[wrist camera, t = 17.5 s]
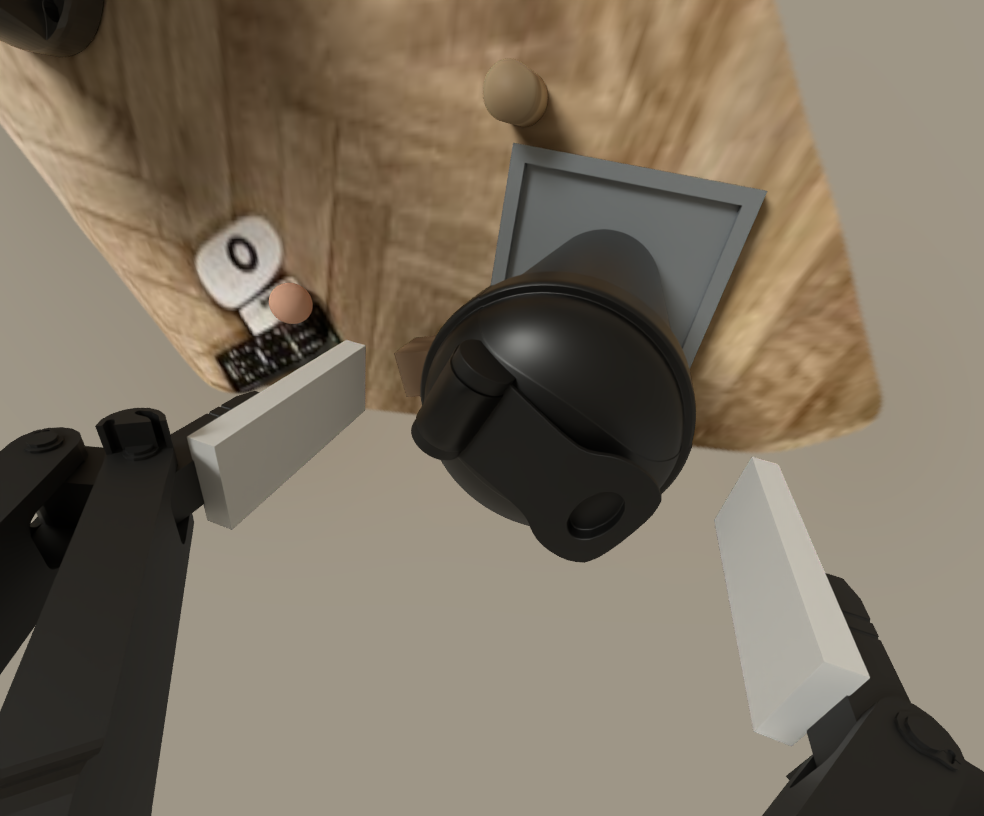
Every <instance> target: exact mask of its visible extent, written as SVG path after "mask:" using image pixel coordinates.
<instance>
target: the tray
mask: <svg viewBox="0 0 984 816" xmlns="http://www.w3.org/2000/svg"><path fill="white" fill-rule="evenodd" d="M766 193H767V191H765V190H761V189H755V188H750V187H745V186H740V185H734V184H729V183H724V182H718V181H713V180H708V179H703V178H697V177H692V176H687V175H682V174H676V173H671V172H666V171H661V170H655V169H650V168H645V167H640V166H634V165H629V164H624V163H619V162H613V161H608V160H603V159H597V158H592V157H587V156H582V155H576V154H571V153H566V152H561V151H555V150H550V149H545V148H540V147H534V146H529V145H524V144H519V143H513V148H512V154H511V160H510V167H509V173H508V179H507V185H506V192H505V198H504V204H503V211H502V217H501V223H500V230H499V236H498V242H497V249H496V255H495V261H494V267H493V274H492V280H491V285H495V284H497V283H499V282H501V281H504V280H506V279H509V278H512V277H515V276H518V275H522V274H523V273H524V272H526V271H527V270H529V269H530V268H531V267H533V266H534V265H535V264H537V263H538V262H540V261H541V260H542V259H544V258H545V257H546V256H548V255H549V254H550V253H552V252H553V251H555V250H556V249H557V248H559V247H560V246H561V245H563V244H564V243H566V242H567V241H568V240H570V239H571V238H573V237H575V236H577V235H579V234H581V233H584V232H588V231H592V230H599V229H608V230H615V231H619V232H623V233H625V234H628V235H630V236H632V237H633V238H635V239H636V240H638V241H639V242H640V243H641V244H643V245H644V246H645V247H646V249H647V250H648V251H649V252H650V254H651V255H652V257H653V259H654V261H655V263H656V265H657V268H658V272H659V277H660V282H661V286H662V291H663V296H664V300H665V305H666V310H667V314H668V319H669V323H670V327H671V331H672V332H673V334H674V335H675V337H676V338H677V340H678V342H679V344H680V346H681V348H682V350H683V352H684V354H685V357H686V360H687V363H688V366H689V369H690V367H691V365H692V362H693V360H694V358H695V355H696V353H697V351H698V349H699V346H700V344H701V342H702V339H703V337H704V335H705V333H706V330H707V328H708V326H709V323H710V321H711V319H712V317H713V314H714V312H715V310H716V307H717V305H718V303H719V301H720V298H721V296H722V294H723V291H724V289H725V287H726V285H727V282H728V280H729V278H730V275H731V273H732V271H733V269H734V266H735V264H736V262H737V259H738V257H739V255H740V253H741V250H742V248H743V246H744V243H745V241H746V239H747V237H748V234H749V232H750V230H751V227H752V225H753V223H754V220H755V218H756V216H757V214H758V211H759V209H760V207H761V204H762V202H763V200H764V198H765V195H766Z"/></svg>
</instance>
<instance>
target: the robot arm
mask: <svg viewBox="0 0 984 816" xmlns="http://www.w3.org/2000/svg"><path fill="white" fill-rule="evenodd" d="M102 8H103V0H0V41H3V42H5V43H7V44H9V45H11V46H14V47H16V48H19V49H22V50H25V51H30V52H34V53H40V54H46V55H51V56H58V57H67V56H72V55H75V54H77V53H79V52H81V51H82V50H83V49H85V48H86V47H87V46H88V44H89V43H90V42H91V40H92V39H93V37H94V35H95V33H96V31H97V29H98V26H99V23H100V19H101V14H102ZM365 352H366V345H362V344H359V343H355V342H352V341H348V340H345V341H344V342H342V343H340V344H339V345H337V346H335V347H334V348H332V349H331V350H329V351H327V352H326V353H324V354H322V355H321V356H319V357H317V358H316V359H314V360H312V361H311V362H309V363H307V364H306V365H304V366H303V367H301V368H299V369H298V370H296V371H294V372H293V373H291V374H289V375H288V376H286V377H284V378H283V379H281V380H279V381H278V382H276V383H275V384H273V385H271V386H270V387H268V388H266V389H265V390H263V391H261V392H257V391H253V392H249V393H246V394H243V395H239V396H236V397H234V398H233V399H231V400H229V401H228V402H226V403H224V404H222V406H221V407H217V408H215V409H214V410H212V411H210V413H209V414H205V415H203V416H202V417H200V418H198V419H197V420H195V421H193V422H191V423H190V424H188V425H186V426H185V427H183V428H181V429H179V430H178V431H176V432H174V433H173V434H171V435H170V431H169V428H168V424H167V420H166V417H165V415H164V414H163V413H162V412H161V411H159V410H155V409H151V408H133V409H127V410H122V411H119V412H116V413H113V414H111V415H109V416H107V417H105V418H103V419H102V420H101V421H100V422H99V423H98V424H97V425H96V426H95V427H96V429H97V432H98V435H99V437H100V440H101V442H102V445H103V448H101V447H100V448H99V447H89V446H85V445H84V443H83V440H82V438H81V435H80V433H79V432H78V431H76V430H74V429H70V428H63V427H60V428H46V429H42V430H36V431H33V432H31V433H28V434H26V435H23V436H21V437H19V438H17V439H16V440H14V441H13V442H11V443H10V444H8V445H7V446H6V447H5V448H4V449H3V450H1V451H0V674H1V673H2V671H3V670H4V668H5V667H6V666H7V664H8V663H9V661H10V660H11V659H12V657H13V656H14V655H15V653H16V652H17V650H18V649H19V648H20V646H21V645H22V643H23V642H24V641H25V639H26V638H27V636H28V635H29V633H30V632H31V631H32V629H33V628H34V627H35V628H34V631H33V633H32V636H31V638H30V641H29V643H28V645H27V648H26V650H25V653H24V655H23V658H22V660H21V662H20V665H19V667H18V670H17V672H16V674H15V677H14V679H13V682H12V684H11V687H10V689H9V691H8V694H7V696H6V699H5V701H4V704H3V706H2V709H1V711H0V816H151V812H152V804H153V797H154V791H155V784H156V777H157V770H158V763H159V756H160V749H161V743H162V736H163V729H164V722H165V716H166V709H167V702H168V695H169V689H170V682H171V675H172V669H173V668H172V667H173V662H174V655H175V648H176V641H177V635H178V628H179V621H180V614H181V607H182V601H183V593H184V587H185V579H186V573H187V567H188V560H189V553H190V546H191V539H192V532H193V526H194V520H193V515H192V513H193V512H194V511H195V510H197V509H198V508H199V507H200V506H202V505H203V504H204V508H205V512H206V516H207V520H208V521H210V522H213V523H216V524H218V525H221V526H223V527H226V528H229V529H231V530H232V529H233V528H235V527H236V526H237V525H238V524H239V523H240V522H241V521H242V520H243V519H245V518H246V517H247V516H248V515H249V514H250V513H251V512H252V511H253V510H255V509H256V508H257V507H258V506H259V505H260V504H261V503H262V502H263V501H265V500H266V499H267V498H268V497H269V496H270V495H271V494H272V493H273V492H275V491H276V490H277V489H278V488H279V487H280V486H281V485H282V484H283V483H284V482H286V481H287V480H288V479H289V478H290V477H291V476H292V475H293V474H295V473H296V472H297V471H298V470H299V469H300V468H301V467H302V466H304V465H305V464H306V463H307V462H308V461H309V460H310V459H311V458H312V457H314V456H315V455H316V454H317V453H318V452H319V451H320V450H321V449H323V448H324V447H325V446H326V445H327V444H328V443H329V442H330V441H331V440H333V439H334V438H335V437H336V436H337V435H338V434H339V433H340V432H341V431H342V430H344V429H345V428H346V427H347V426H348V425H349V424H350V423H351V422H353V421H354V420H355V419H356V418H357V417H358V416H359V415H360V414H361V413H363V412H364V411H365ZM35 513H37V515H38V517H37V518H36V519H35V520H34V521H33V522H32V523H31V520H32V518H33V517H34V515H35ZM714 522H715V527H716V533H717V538H718V544H719V549H720V554H721V560H722V565H723V570H724V576H725V581H726V586H727V592H728V597H729V602H730V608H731V613H732V619H733V624H734V629H735V634H736V640H737V645H738V651H739V656H740V661H741V667H742V672H743V678H744V683H745V688H746V693H747V698H748V704H749V709H750V715H751V721H752V725H753V731H754V732H756V733H758V734H761V735H763V736H766V737H769V738H771V739H774V740H777V741H779V742H782V743H784V744H787V745H790V746H793V745H794V744H795V743H796V742H797V741H798V740H799V739H801V738H802V737H803V736H804V735H805V734H806V733H807V734H808V738H809V741H810V745H811V749H812V752H813V755H812V756H810V757H809V758H808V759H807V760H805V761H804V762H803V763H802V764H800V765H799V766H798V767H797V768H795V769H794V770H793V771H792V772H791V773H789V774H788V775H787V776H786V777H787V778H788V779H789V780H790V781H789V782H788V783H787V784H786V786H785V787H784V788H783V790H782V791H781V792H780V793H779V795H778V796H777V797H776V799H775V800H774V801H773V802H772V804H771V805H770V806H769V808H768V809H767V810H766V811H765V813H764V814H763V815H762V816H984V772H983V771H982V770H980V769H979V768H977V767H975V766H974V765H972V764H970V763H969V762H967V761H966V760H965V759H964V757H963V755H962V752H961V750H960V748H959V747H958V745H957V744H956V743H955V741H954V740H953V739H952V737H951V736H950V735H949V733H948V732H947V731H946V730H945V729H944V728H943V727H942V726H941V725H940V724H939V723H938V722H937V721H936V720H935V719H934V718H932V716H930V715H929V714H927V713H926V712H924V711H923V710H921V709H920V708H919V707H917V706H916V705H914V704H912V703H911V702H910V700H909V698H908V696H907V694H906V692H905V690H904V688H903V685H902V683H901V681H900V680H899V677H898V675H897V673H896V671H895V669H894V667H893V665H892V663H891V661H890V659H889V657H888V655H887V652H886V650H885V648H884V646H883V644H882V642H881V641H880V640H878V637H879V636H878V634H877V632H876V630H875V628H874V626H873V624H872V623H870V617H869V615H868V613H867V611H866V609H865V607H864V605H863V603H862V601H861V599H860V598H859V597H858V595H857V594H856V593H855V592H854V591H853V590H852V589H851V588H850V586H849V585H848V584H847V583H846V582H845V581H844V579H842V578H839V577H836V576H833V575H830V574H826V573H825V572H824V569H823V567H822V565H821V562H820V560H819V558H818V555H817V553H816V551H815V548H814V546H813V544H812V541H811V539H810V537H809V534H808V532H807V530H806V527H805V525H804V523H803V520H802V518H801V516H800V513H799V511H798V509H797V507H796V504H795V502H794V500H793V497H792V495H791V493H790V490H789V488H788V485H787V483H786V481H785V479H784V476H783V474H782V472H781V469H780V467H779V465H778V464H776V463H773V462H769V461H766V460H763V459H759V458H756V457H751V459H750V460H749V462H748V464H747V466H746V467H745V469H744V471H743V472H742V474H741V476H740V477H739V479H738V481H737V482H736V484H735V486H734V488H733V489H732V491H731V493H730V494H729V496H728V498H727V499H726V501H725V503H724V505H723V506H722V508H721V510H720V512H719V513H718V515H717V516H716V518H715V520H714ZM35 625H36V626H35Z"/></svg>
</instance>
